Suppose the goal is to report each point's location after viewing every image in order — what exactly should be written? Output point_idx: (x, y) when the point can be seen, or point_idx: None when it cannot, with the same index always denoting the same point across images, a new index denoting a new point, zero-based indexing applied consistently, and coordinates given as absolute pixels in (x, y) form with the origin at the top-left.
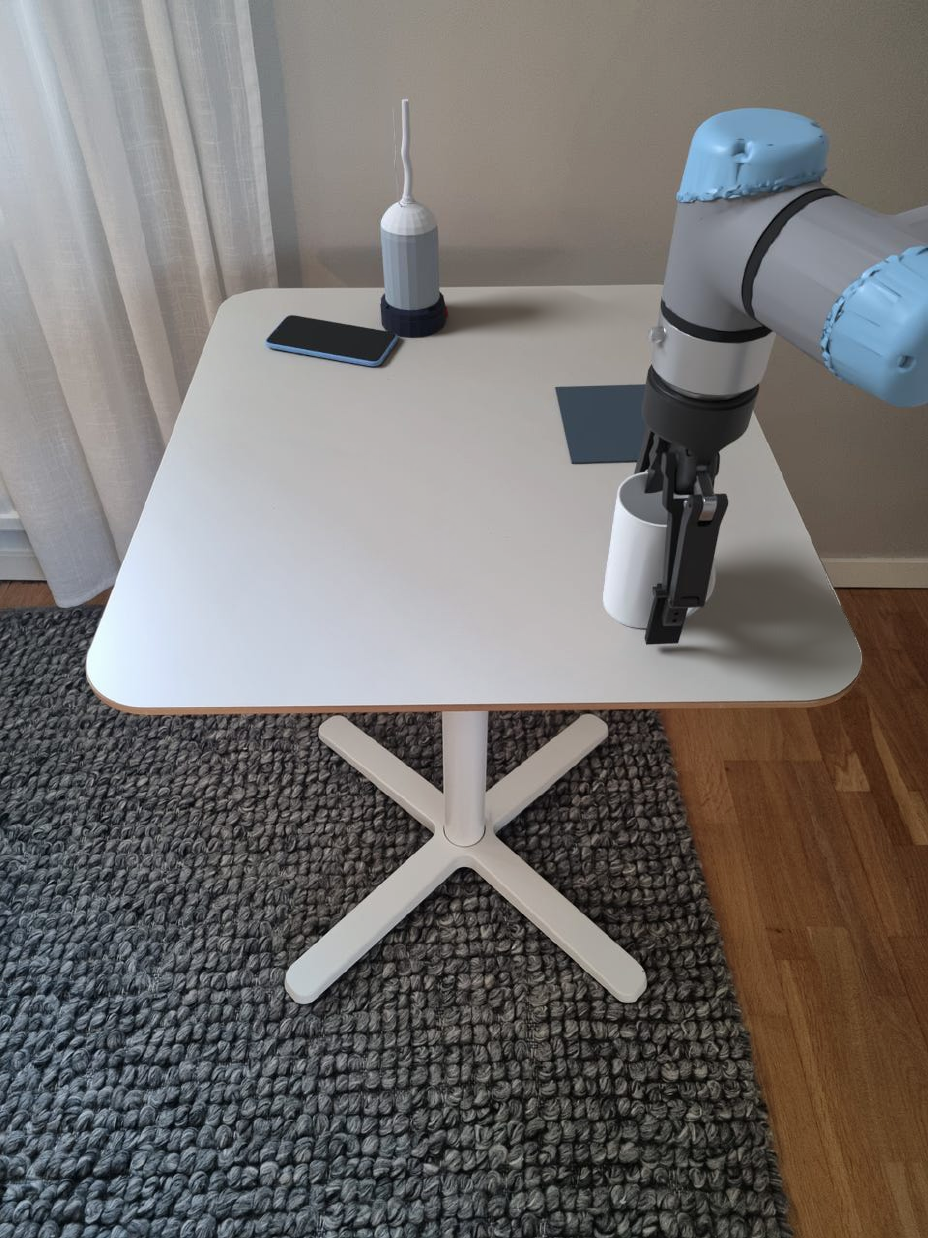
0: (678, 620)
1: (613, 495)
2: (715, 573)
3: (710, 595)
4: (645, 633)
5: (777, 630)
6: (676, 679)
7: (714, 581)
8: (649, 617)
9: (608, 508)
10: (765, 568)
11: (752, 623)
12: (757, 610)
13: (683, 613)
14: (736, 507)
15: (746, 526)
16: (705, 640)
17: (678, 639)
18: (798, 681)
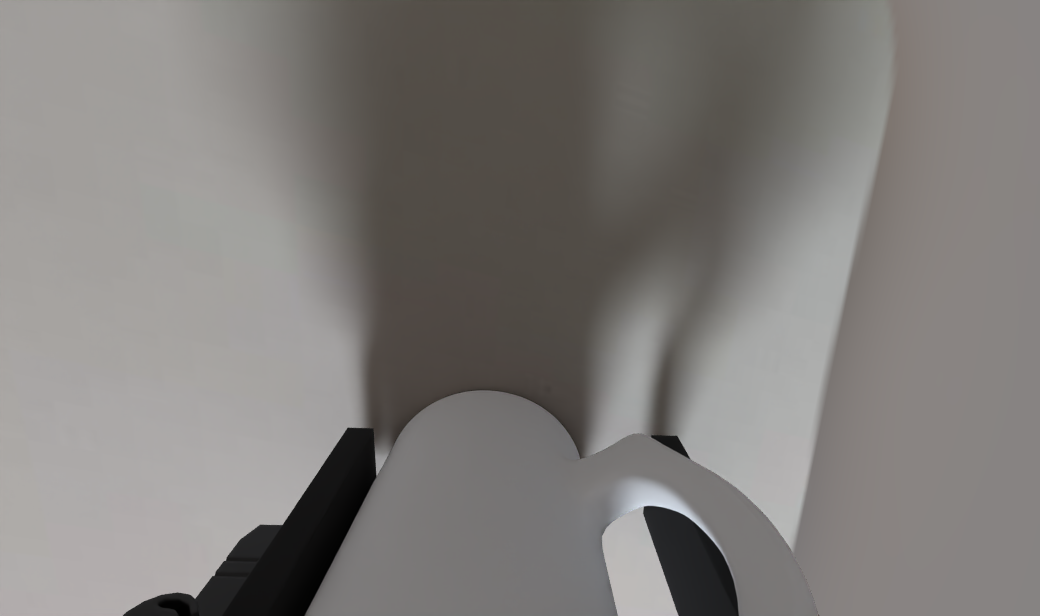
0: None
1: (27, 453)
2: (804, 604)
3: (752, 502)
4: (648, 526)
5: (630, 100)
6: (758, 437)
7: (799, 570)
8: (667, 579)
9: (92, 477)
10: (342, 46)
11: (591, 175)
12: (538, 140)
13: None
14: (13, 55)
15: (119, 48)
16: (639, 333)
17: (680, 446)
18: (842, 102)
